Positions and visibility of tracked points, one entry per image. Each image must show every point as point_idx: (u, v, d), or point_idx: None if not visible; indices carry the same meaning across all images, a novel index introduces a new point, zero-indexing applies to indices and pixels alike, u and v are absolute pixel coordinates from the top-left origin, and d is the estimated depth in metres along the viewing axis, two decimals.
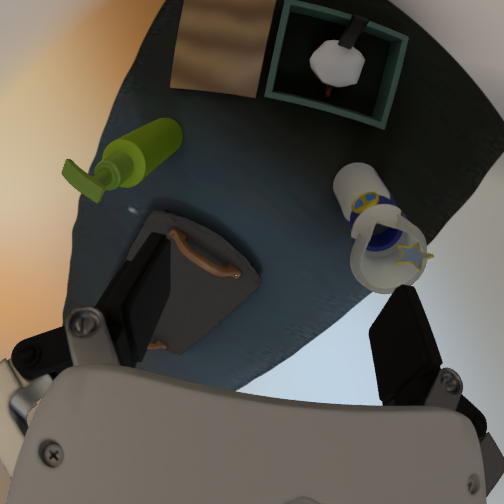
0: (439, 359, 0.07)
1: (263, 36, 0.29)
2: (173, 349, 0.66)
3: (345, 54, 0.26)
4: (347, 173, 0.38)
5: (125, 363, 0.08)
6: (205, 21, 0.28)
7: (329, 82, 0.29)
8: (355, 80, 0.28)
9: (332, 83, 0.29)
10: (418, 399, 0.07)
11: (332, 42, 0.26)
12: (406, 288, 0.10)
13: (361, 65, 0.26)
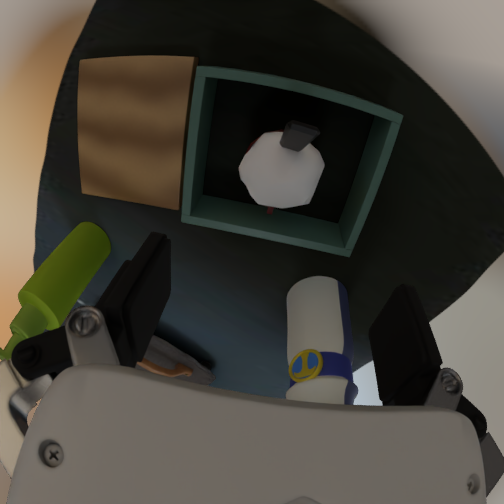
0: (439, 359, 0.07)
1: (178, 123, 0.23)
2: None
3: (290, 163, 0.20)
4: (300, 297, 0.32)
5: (125, 363, 0.08)
6: (104, 105, 0.22)
7: (267, 204, 0.23)
8: (306, 201, 0.22)
9: (272, 205, 0.23)
10: (418, 399, 0.07)
11: (272, 139, 0.20)
12: (406, 288, 0.10)
13: (317, 177, 0.21)
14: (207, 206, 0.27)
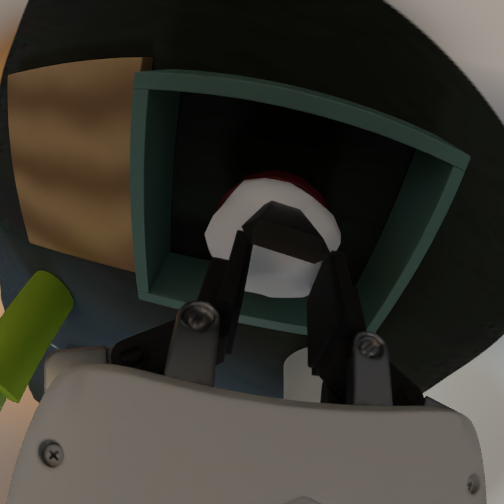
0: (357, 320, 0.08)
1: (126, 159, 0.15)
2: None
3: None
4: (300, 373, 0.24)
5: None
6: (36, 135, 0.15)
7: (247, 291, 0.15)
8: (307, 294, 0.14)
9: (255, 292, 0.15)
10: (336, 363, 0.08)
11: (254, 195, 0.12)
12: (334, 253, 0.11)
13: None
14: (174, 274, 0.19)
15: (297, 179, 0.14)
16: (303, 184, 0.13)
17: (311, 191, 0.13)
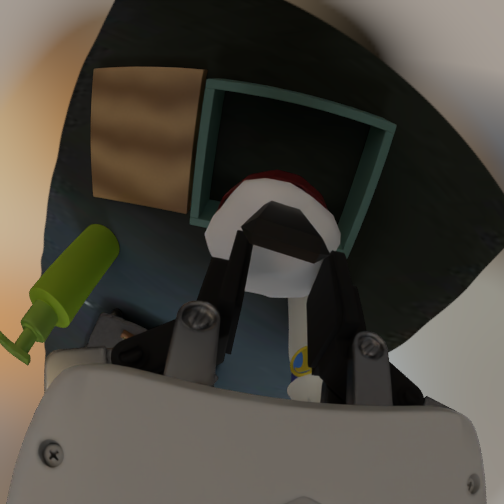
0: (357, 320, 0.08)
1: (188, 132, 0.25)
2: None
3: None
4: (301, 297, 0.34)
5: None
6: (117, 113, 0.24)
7: (248, 291, 0.15)
8: (307, 294, 0.14)
9: (255, 292, 0.15)
10: (336, 363, 0.08)
11: (254, 195, 0.12)
12: (334, 253, 0.11)
13: None
14: (214, 210, 0.29)
15: (297, 179, 0.14)
16: (303, 184, 0.13)
17: (311, 191, 0.13)
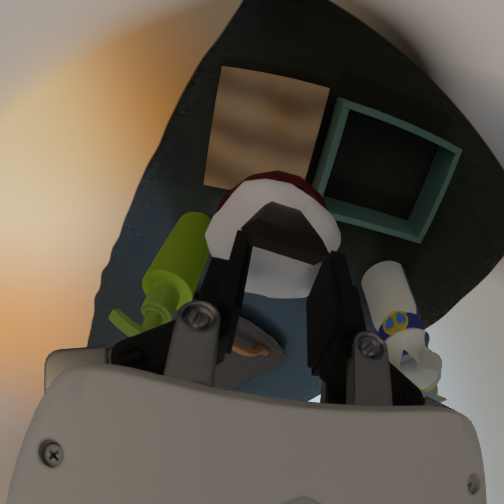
0: (357, 320, 0.08)
1: (311, 137, 0.31)
2: None
3: None
4: (378, 276, 0.39)
5: None
6: (245, 111, 0.30)
7: (248, 291, 0.15)
8: (307, 294, 0.14)
9: (255, 293, 0.15)
10: (336, 363, 0.08)
11: (254, 196, 0.12)
12: (334, 253, 0.11)
13: None
14: None
15: (297, 180, 0.14)
16: (303, 185, 0.13)
17: (311, 192, 0.13)
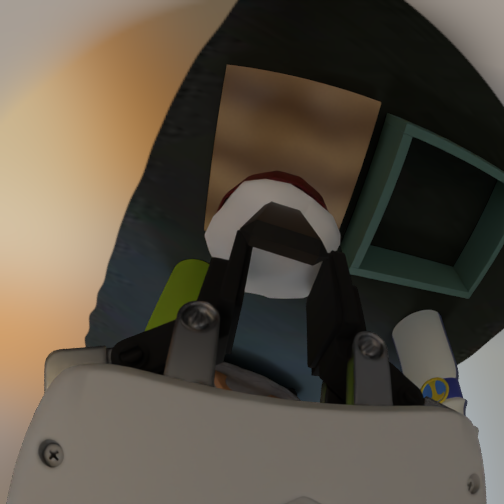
0: (357, 320, 0.08)
1: (353, 170, 0.22)
2: None
3: None
4: (414, 330, 0.31)
5: None
6: (261, 131, 0.21)
7: (247, 291, 0.15)
8: (307, 294, 0.14)
9: (255, 293, 0.15)
10: (336, 363, 0.08)
11: (253, 196, 0.12)
12: (334, 253, 0.11)
13: None
14: (364, 255, 0.26)
15: (297, 180, 0.14)
16: (303, 185, 0.13)
17: (311, 192, 0.13)
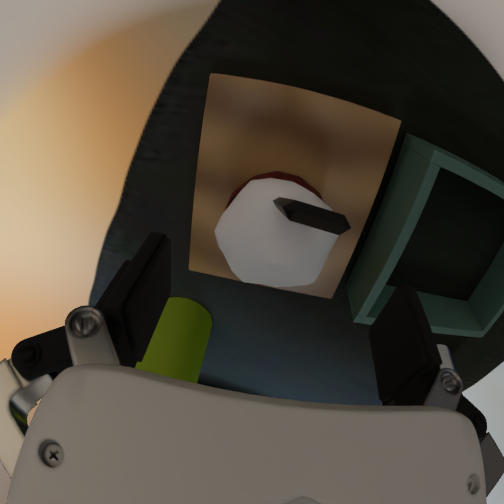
0: (439, 359, 0.07)
1: (365, 203, 0.18)
2: None
3: (289, 232, 0.13)
4: None
5: (125, 363, 0.08)
6: (253, 156, 0.18)
7: (255, 282, 0.16)
8: (311, 282, 0.15)
9: (262, 284, 0.16)
10: (418, 399, 0.07)
11: (262, 193, 0.14)
12: (406, 288, 0.10)
13: (328, 251, 0.14)
14: None
15: (298, 178, 0.15)
16: (304, 183, 0.15)
17: (311, 189, 0.15)
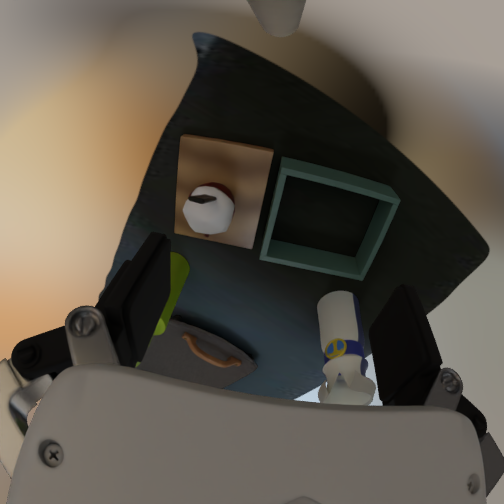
0: (439, 359, 0.07)
1: (259, 195, 0.38)
2: None
3: (209, 208, 0.33)
4: (328, 305, 0.47)
5: (125, 363, 0.08)
6: (202, 174, 0.37)
7: (200, 232, 0.36)
8: (223, 230, 0.35)
9: (203, 232, 0.36)
10: (418, 399, 0.07)
11: (199, 192, 0.33)
12: (406, 288, 0.10)
13: (227, 216, 0.34)
14: (274, 248, 0.42)
15: (217, 185, 0.35)
16: (219, 187, 0.34)
17: (222, 190, 0.35)
